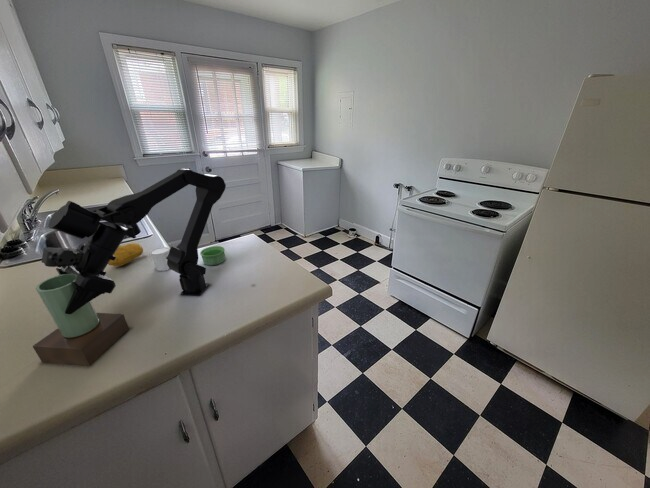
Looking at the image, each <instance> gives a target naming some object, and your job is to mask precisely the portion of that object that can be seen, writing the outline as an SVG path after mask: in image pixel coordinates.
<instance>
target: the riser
mask: <svg viewBox="0 0 650 488" xmlns="http://www.w3.org/2000/svg"><path fill="white" fill-rule="evenodd" d="M96 313H97V315H98V318H99V323H98V325H97V326H96V327H95V328H94V329H92V330H91V331H89V332H87V333H85V334H83V335H80V336H77V337H71V338H67V337H64V336H63V335H62V334H61V333H60V331H59V329H58V328H56V329H54V330H53V331H52V332H50V333H49V334H48V335H46V336H44V337H43V338H41V340H39V341H37V342H36V343H34V344H33V345H32V348H33V350H34V351H35V353H36V356H38V358H39V360H40V361H41V363H43V364H45V363H47V364H58V365H75V366H91V365H92V364H94V363H95V361H97V360H98V359H100V357H101V356H102V355H103V354H104V353H105V352H107V351H108V350H109V348H111V347H112V346H113V345H114V344H115V343H116V342H117V341H118V340H119V339H121V337H123V335H125V333H127V332H128V331H129V330H130V327H129V325H128V323H127V322H128V321H127V319H126V318H125V315H124V313H113V312H112V313H109V312H96Z"/></svg>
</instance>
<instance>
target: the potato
mask: <svg viewBox="0 0 650 488" xmlns="http://www.w3.org/2000/svg"><path fill="white" fill-rule="evenodd" d="M143 253H144V247H143V246H142V245H140V244H139V243H135V242H131V243H127V244H123V245H122V244H121V245H119V247H118V249H117V250H116V251H115V253H114V256H115V257H116V258H115V260H114V261H113V260H110V261H109V263H108V264H107V266H114V267H121V266H122V267H123V266H124V265H127V264H129V263H130V262H132V261H134V260H135V259H137V258H139V257H140V256H141V255H142V254H143Z"/></svg>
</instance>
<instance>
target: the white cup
mask: <svg viewBox="0 0 650 488" xmlns="http://www.w3.org/2000/svg"><path fill="white" fill-rule="evenodd" d="M170 248H171V247H168V246H163V247H157V248H154V249H152V250H150V251H149V256H150V258H151V260H152V262H153V265H154V267H155V270H156V271H158V272H164V271H167V270H171V269H170V268H169V267H168V265H167V260H168V259H166V257H167V256H168V255H169V252H170Z"/></svg>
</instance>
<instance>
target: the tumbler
mask: <svg viewBox="0 0 650 488" xmlns="http://www.w3.org/2000/svg"><path fill="white" fill-rule="evenodd" d="M77 276H78V275H77V274H73V273H69V274H62V275H59V274H58V275H55V276H52V277H49V278H47V279H45V280H43V281H41V282H40V283H38V284H37V285H36V287H35V291H36V292H37V294H38V296H39V297H40V299H41V302H42V303H43V304H44V306H45V308H46V310H47V312H48V313H49V315H50V317H51V318H52V320H53V322H54V324H55V325H56V327H57V329H59V331H60V333H61V334H62V335H63V336H64V337H67V338H71V337H77V336H80V335H83V334H85V333H87V332H89V331H91V330H92V329H94V328H95V327H96V326H97V325H98V323H99V318H98V315H97V313H98V312H97V311H96V309H95V307H94V305H93V302H92V300H91V301H90V302H88V303H86V304H85V305H84V306H82V307H81V308H79V309H78V310H76V311H75V312H73V313H72V314H65V310H66V308H67V306H68V303H69V301H70V299H71V297H72V295H73V293H74V288H73V285H72V283H71V282H75V281H76V278H77Z"/></svg>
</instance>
